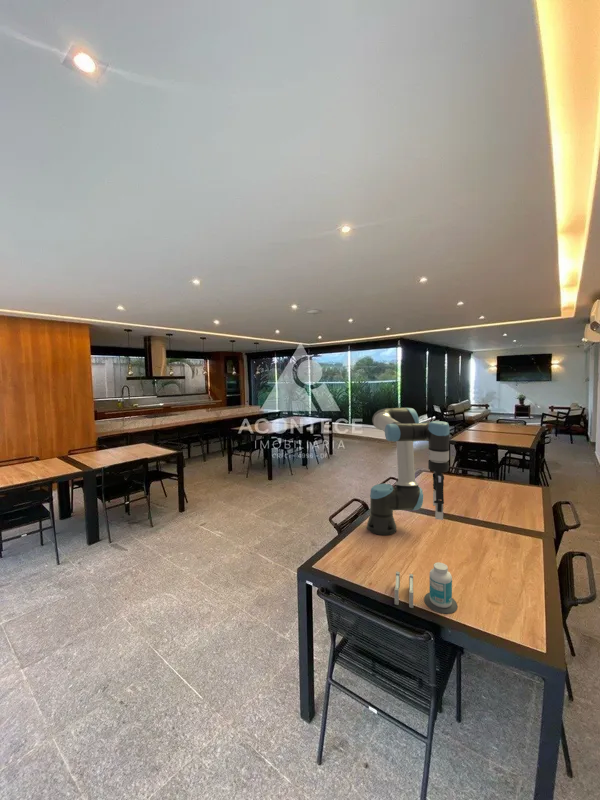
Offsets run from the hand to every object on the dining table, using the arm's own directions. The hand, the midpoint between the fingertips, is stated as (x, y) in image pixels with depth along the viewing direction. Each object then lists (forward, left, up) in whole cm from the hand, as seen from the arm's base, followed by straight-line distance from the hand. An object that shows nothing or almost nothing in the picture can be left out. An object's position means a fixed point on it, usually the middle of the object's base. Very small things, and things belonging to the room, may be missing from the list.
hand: (437, 512), depth 132 cm
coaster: (+17, 0, -27) cm, 32 cm away
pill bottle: (+17, 0, -26) cm, 32 cm away
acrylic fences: (+17, -12, -27) cm, 34 cm away
